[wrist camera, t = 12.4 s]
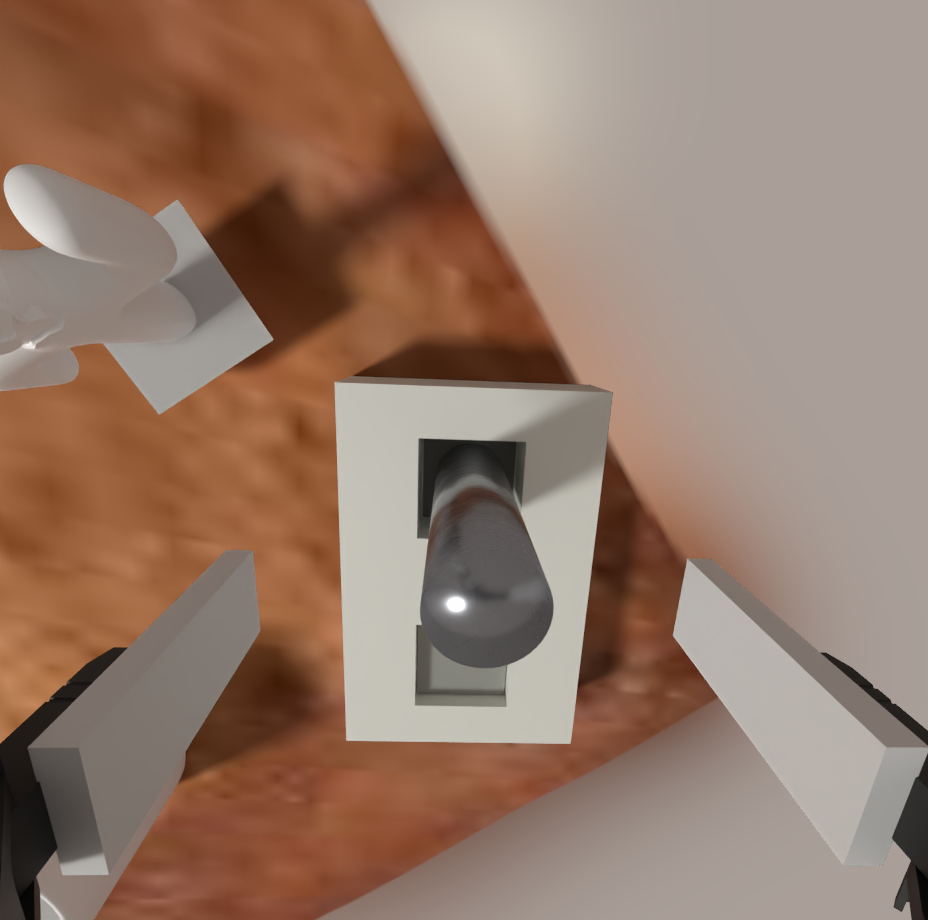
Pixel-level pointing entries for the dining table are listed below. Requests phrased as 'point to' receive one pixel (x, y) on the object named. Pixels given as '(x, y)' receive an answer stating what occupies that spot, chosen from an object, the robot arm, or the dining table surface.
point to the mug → (82, 896)
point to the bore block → (406, 539)
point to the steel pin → (481, 566)
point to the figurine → (115, 292)
